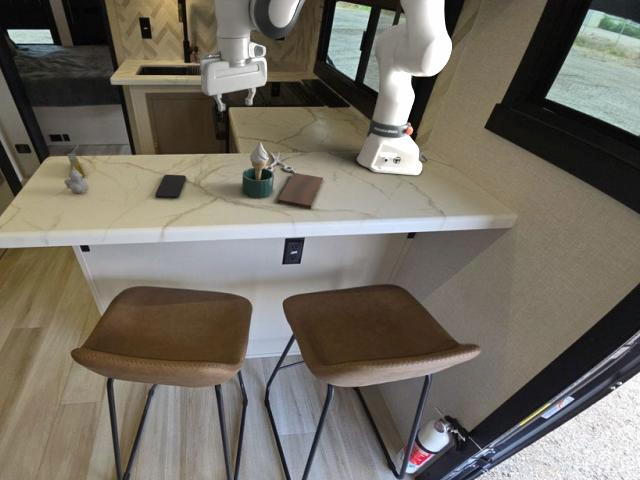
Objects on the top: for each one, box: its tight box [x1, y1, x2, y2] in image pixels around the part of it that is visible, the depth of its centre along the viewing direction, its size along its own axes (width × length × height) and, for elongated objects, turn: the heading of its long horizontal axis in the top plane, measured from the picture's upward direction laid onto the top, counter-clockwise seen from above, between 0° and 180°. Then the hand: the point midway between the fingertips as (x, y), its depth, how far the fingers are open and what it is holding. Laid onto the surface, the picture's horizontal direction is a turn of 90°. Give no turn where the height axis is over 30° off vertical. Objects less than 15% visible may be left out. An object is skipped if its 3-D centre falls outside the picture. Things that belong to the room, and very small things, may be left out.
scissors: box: [264, 150, 297, 174], centre depth 122 cm, size 11×1×20 cm
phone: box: [154, 174, 187, 199], centre depth 107 cm, size 7×1×15 cm
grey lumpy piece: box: [63, 166, 89, 194], centre depth 101 cm, size 5×7×8 cm
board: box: [277, 172, 324, 210], centre depth 106 cm, size 10×20×1 cm, turn 160°
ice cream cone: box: [249, 140, 269, 180], centre depth 101 cm, size 6×6×15 cm
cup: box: [241, 167, 275, 199], centre depth 104 cm, size 10×10×6 cm
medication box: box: [67, 152, 86, 177], centre depth 113 cm, size 12×3×4 cm, turn 28°
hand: (235, 107), depth 100 cm, fingers open, 8 cm apart
